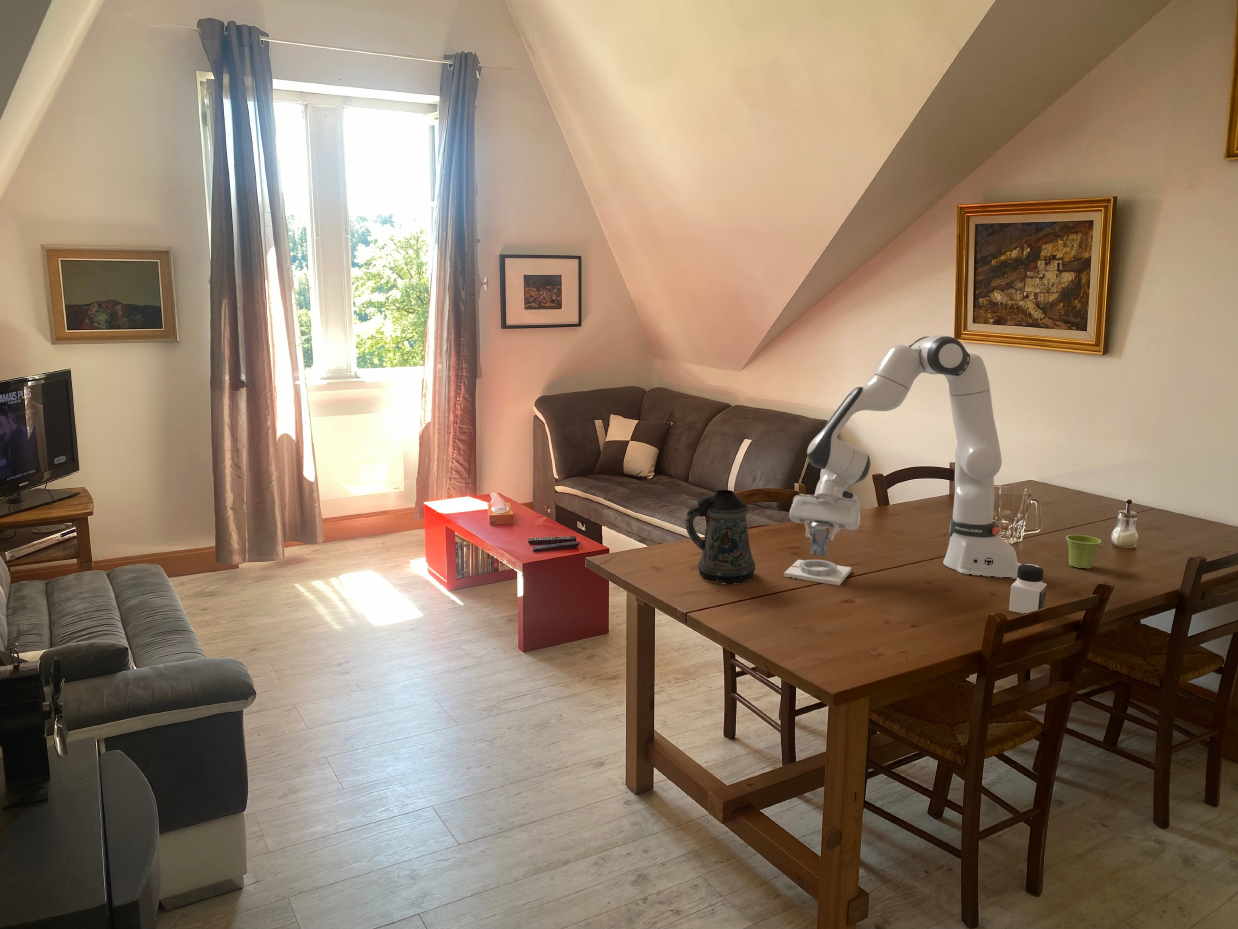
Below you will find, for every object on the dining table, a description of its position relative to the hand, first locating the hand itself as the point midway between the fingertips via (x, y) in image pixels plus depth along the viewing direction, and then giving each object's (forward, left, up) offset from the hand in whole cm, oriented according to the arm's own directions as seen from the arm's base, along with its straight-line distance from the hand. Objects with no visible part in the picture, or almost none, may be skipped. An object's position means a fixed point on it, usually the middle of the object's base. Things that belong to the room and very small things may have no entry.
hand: (819, 537), depth 260 cm
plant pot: (-68, -45, -12) cm, 82 cm away
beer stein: (+24, +14, -12) cm, 30 cm away
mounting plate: (0, -1, -11) cm, 11 cm away
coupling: (0, -1, -5) cm, 5 cm away
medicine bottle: (-56, +2, -12) cm, 57 cm away
